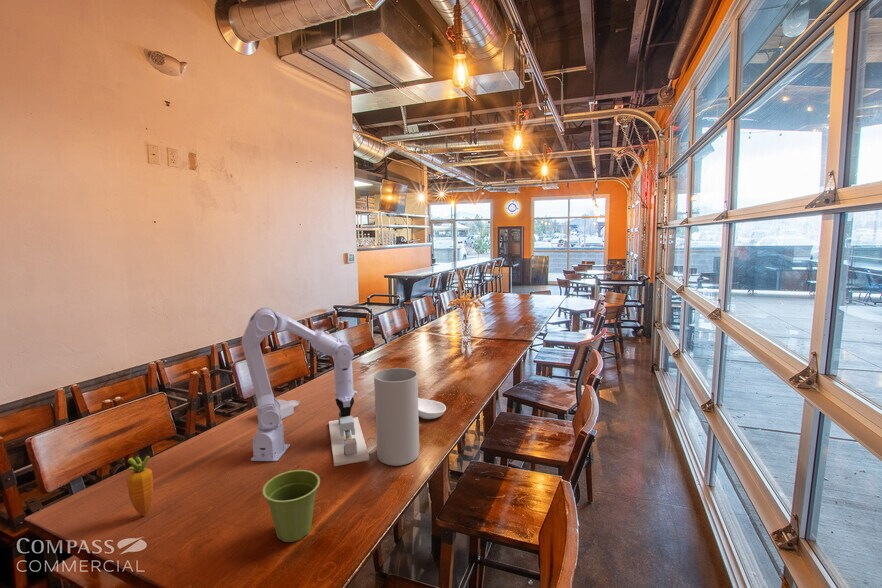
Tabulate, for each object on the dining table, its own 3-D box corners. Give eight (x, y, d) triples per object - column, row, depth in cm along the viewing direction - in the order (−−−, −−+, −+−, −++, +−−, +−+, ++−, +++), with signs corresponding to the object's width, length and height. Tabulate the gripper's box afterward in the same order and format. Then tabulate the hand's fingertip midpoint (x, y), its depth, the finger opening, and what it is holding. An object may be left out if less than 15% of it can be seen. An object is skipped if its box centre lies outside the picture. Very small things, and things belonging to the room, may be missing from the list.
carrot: (161, 508, 101) (155, 450, 99) (148, 522, 96) (141, 461, 94) (140, 509, 101) (133, 451, 99) (126, 523, 96) (118, 462, 94)
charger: (306, 409, 160) (273, 424, 147) (290, 404, 165) (256, 418, 152) (306, 397, 159) (272, 411, 146) (290, 393, 164) (256, 406, 151)
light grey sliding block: (355, 434, 130) (354, 421, 130) (340, 436, 129) (340, 423, 129) (353, 427, 135) (352, 415, 135) (339, 429, 134) (338, 417, 133)
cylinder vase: (373, 449, 128) (370, 371, 124) (412, 442, 132) (410, 366, 129) (382, 470, 116) (379, 384, 113) (425, 461, 120) (423, 378, 117)
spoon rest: (447, 410, 157) (447, 392, 156) (444, 424, 145) (443, 404, 144) (386, 408, 160) (386, 390, 159) (378, 421, 148) (377, 402, 147)
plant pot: (274, 560, 84) (270, 508, 83) (260, 528, 94) (256, 481, 92) (330, 535, 91) (327, 487, 90) (312, 507, 101) (309, 463, 99)
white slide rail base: (369, 460, 122) (368, 442, 121) (334, 466, 119) (333, 447, 118) (357, 419, 149) (357, 404, 148) (328, 424, 146) (328, 408, 145)
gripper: (359, 385, 128) (361, 427, 130) (353, 371, 142) (355, 409, 143) (335, 388, 126) (337, 431, 127) (332, 374, 139) (334, 412, 141)
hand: (345, 420), depth 135 cm, fingers closed
